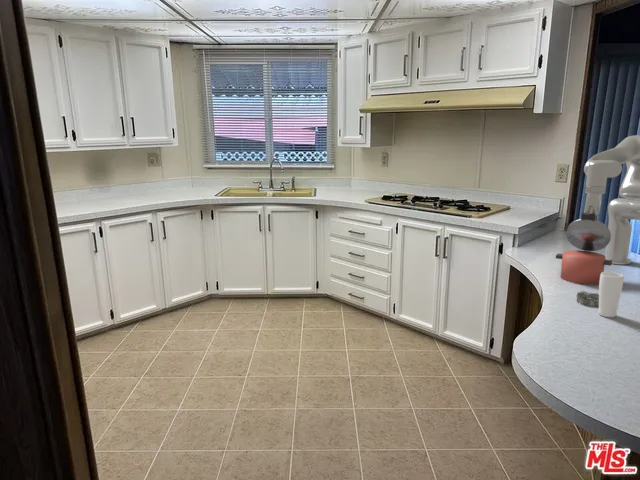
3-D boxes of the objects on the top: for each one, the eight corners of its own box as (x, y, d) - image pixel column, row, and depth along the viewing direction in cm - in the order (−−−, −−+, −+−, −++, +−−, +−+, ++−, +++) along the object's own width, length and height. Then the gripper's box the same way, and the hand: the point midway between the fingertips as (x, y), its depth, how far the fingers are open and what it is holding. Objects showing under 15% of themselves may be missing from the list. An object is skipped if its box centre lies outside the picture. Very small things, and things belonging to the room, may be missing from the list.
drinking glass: (622, 319, 148) (627, 277, 145) (600, 318, 150) (605, 277, 146) (613, 311, 155) (618, 271, 152) (592, 311, 156) (597, 271, 153)
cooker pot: (560, 269, 205) (562, 247, 203) (612, 277, 192) (615, 253, 190) (550, 279, 192) (552, 255, 190) (605, 288, 179) (609, 262, 176)
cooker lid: (566, 248, 201) (567, 244, 202) (609, 253, 190) (610, 249, 192) (565, 213, 191) (567, 209, 192) (611, 216, 180) (613, 212, 182)
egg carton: (574, 304, 164) (575, 293, 163) (577, 298, 170) (578, 288, 169) (608, 309, 158) (609, 299, 157) (609, 303, 164) (610, 293, 163)
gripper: (588, 187, 199) (584, 226, 203) (582, 191, 188) (577, 232, 192) (607, 188, 194) (603, 228, 198) (602, 191, 183) (597, 234, 187)
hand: (590, 230), depth 195 cm, fingers closed
